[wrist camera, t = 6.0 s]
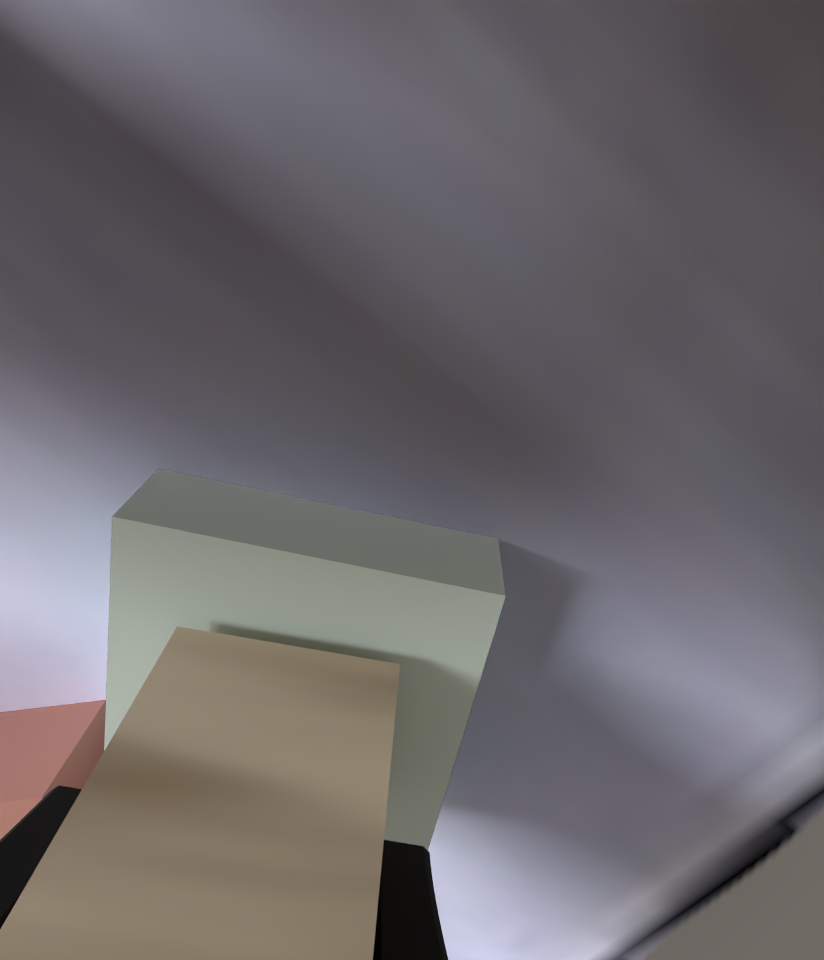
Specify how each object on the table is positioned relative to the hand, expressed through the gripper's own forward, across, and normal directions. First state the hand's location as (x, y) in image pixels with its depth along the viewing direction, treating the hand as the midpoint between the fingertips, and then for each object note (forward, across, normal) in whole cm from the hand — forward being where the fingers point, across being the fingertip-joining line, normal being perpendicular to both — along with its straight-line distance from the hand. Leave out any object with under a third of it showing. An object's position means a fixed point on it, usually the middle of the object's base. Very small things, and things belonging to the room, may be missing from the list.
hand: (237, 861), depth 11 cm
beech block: (+3, 0, 0) cm, 3 cm away
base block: (+6, 0, 0) cm, 6 cm away
